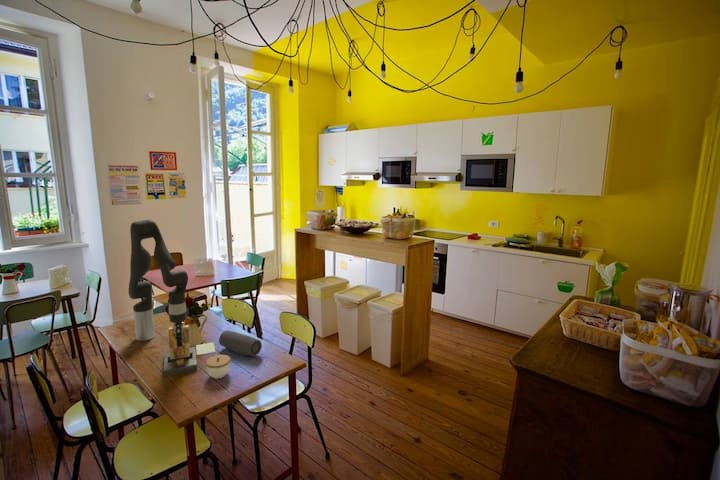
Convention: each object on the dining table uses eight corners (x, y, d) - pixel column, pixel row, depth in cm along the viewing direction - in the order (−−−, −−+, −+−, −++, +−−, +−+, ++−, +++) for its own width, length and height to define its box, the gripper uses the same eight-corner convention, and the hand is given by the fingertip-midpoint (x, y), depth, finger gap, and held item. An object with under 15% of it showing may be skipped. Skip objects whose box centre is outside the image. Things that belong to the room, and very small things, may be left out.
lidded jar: (212, 368, 171) (211, 350, 169) (234, 369, 170) (233, 351, 169) (202, 381, 160) (201, 362, 158) (225, 382, 160) (224, 363, 158)
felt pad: (196, 345, 193) (195, 345, 193) (213, 342, 197) (213, 342, 197) (196, 355, 182) (196, 355, 182) (215, 352, 186) (215, 351, 186)
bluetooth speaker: (262, 353, 187) (262, 336, 185) (249, 361, 178) (249, 343, 177) (231, 343, 197) (231, 326, 195) (218, 350, 189) (217, 333, 187)
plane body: (165, 356, 180) (164, 344, 179) (195, 351, 187) (194, 339, 185) (163, 376, 163) (162, 362, 162) (197, 370, 169) (196, 356, 168)
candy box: (190, 352, 178) (188, 324, 175) (190, 356, 174) (188, 327, 172) (170, 356, 174) (168, 327, 172) (170, 360, 171) (168, 330, 168)
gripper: (169, 307, 175) (171, 339, 178) (168, 317, 162) (170, 351, 165) (186, 305, 178) (187, 336, 181) (186, 315, 166) (188, 348, 169)
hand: (179, 343), depth 173 cm, fingers closed on candy box, 4 cm apart
